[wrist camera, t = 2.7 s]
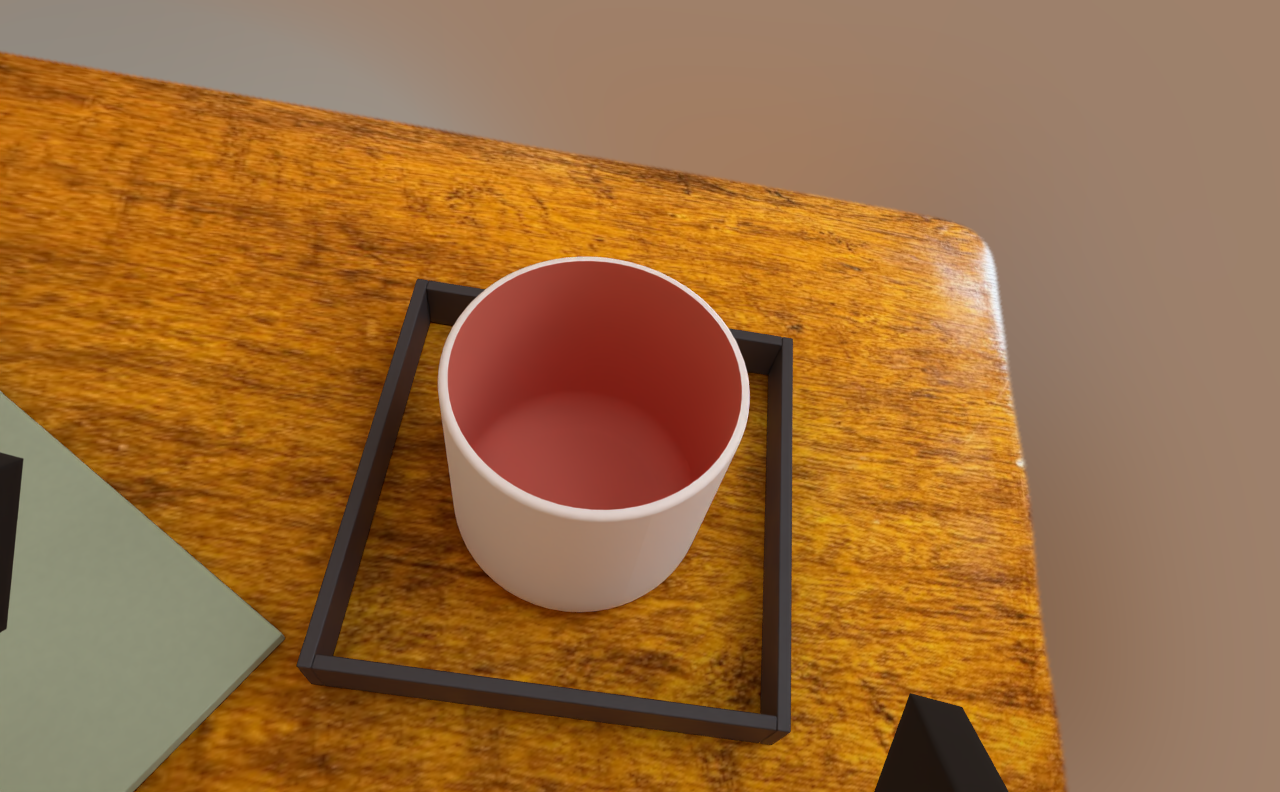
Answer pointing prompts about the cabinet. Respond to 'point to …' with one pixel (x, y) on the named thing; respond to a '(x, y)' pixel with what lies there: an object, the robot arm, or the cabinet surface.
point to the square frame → (325, 669)
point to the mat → (106, 631)
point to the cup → (587, 428)
